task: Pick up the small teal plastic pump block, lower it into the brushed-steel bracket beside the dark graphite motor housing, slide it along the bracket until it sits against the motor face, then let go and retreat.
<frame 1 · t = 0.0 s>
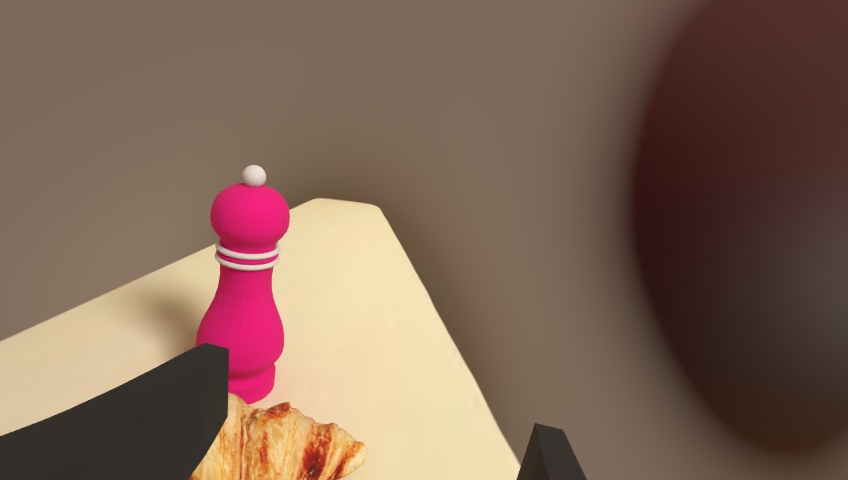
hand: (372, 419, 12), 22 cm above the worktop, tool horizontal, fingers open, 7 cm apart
pepper mill: (237, 386, 47), on the worktop
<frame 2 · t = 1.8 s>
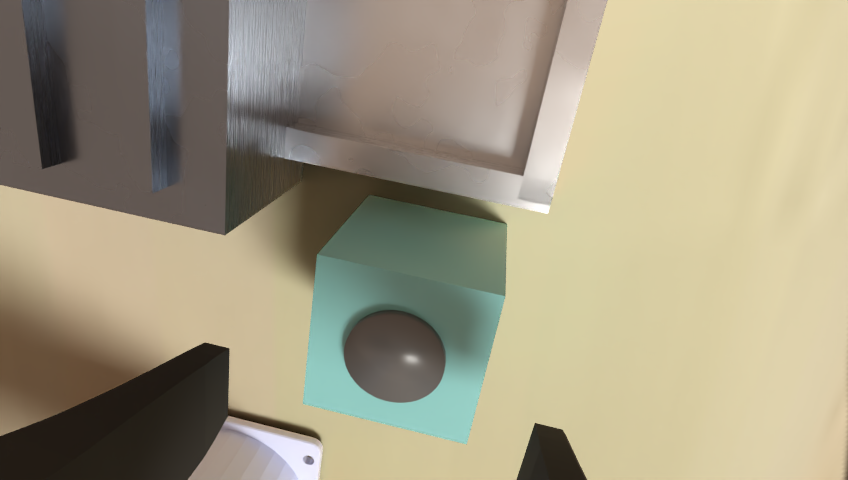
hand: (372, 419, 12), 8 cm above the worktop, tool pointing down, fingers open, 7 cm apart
pump: (425, 270, 19), on the worktop
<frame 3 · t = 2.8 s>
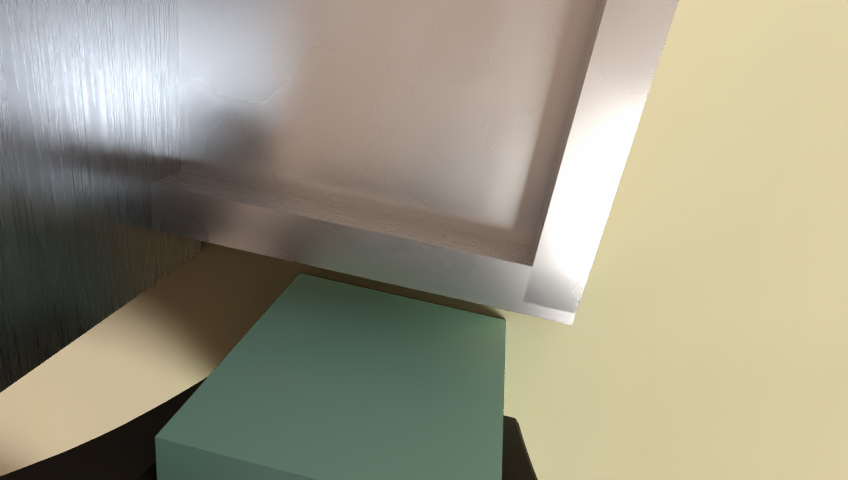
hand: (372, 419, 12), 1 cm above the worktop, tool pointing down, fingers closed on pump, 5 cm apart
pump: (386, 380, 13), on the worktop, touching gripper
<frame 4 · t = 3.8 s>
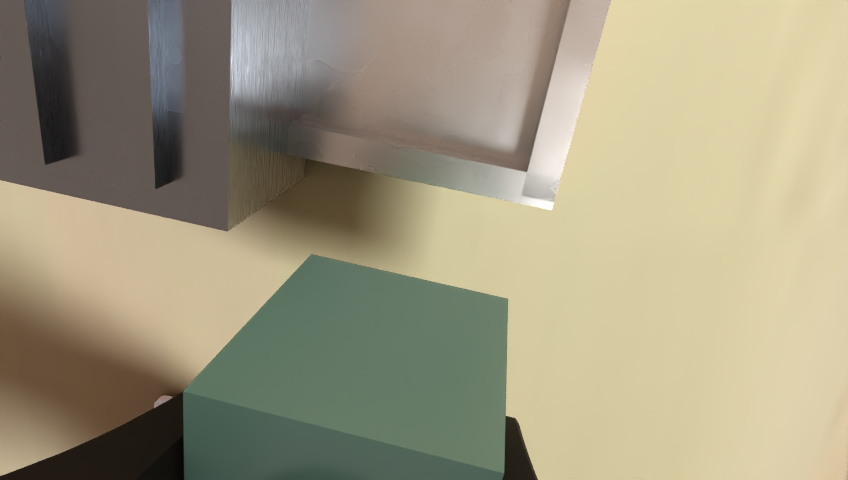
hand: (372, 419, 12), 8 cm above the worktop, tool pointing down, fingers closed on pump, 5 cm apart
pump: (393, 359, 14), point 6 cm above the worktop, touching gripper
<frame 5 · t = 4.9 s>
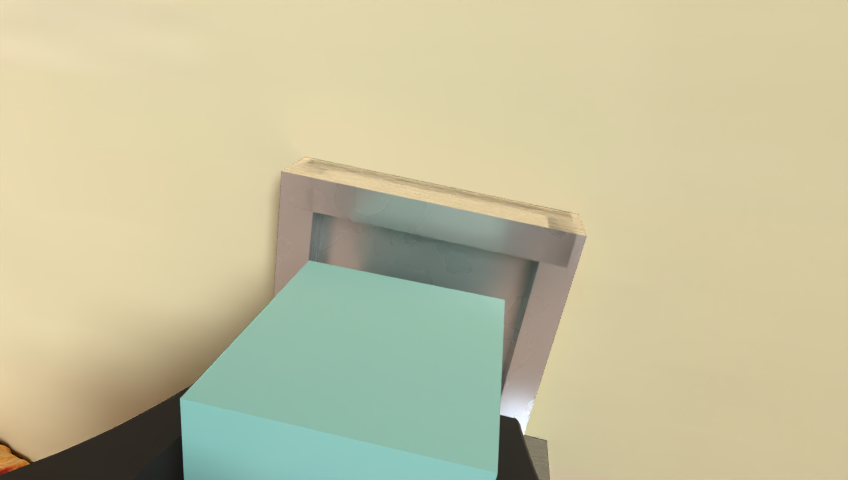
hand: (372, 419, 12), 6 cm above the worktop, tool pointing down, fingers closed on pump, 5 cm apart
motor: (385, 473, 20), on the worktop
pump: (393, 362, 14), point 4 cm above the worktop, touching gripper
when the fingers open (3 cm above the worktop, at t = 6.4 s): pump stays where it is, resting on motor.
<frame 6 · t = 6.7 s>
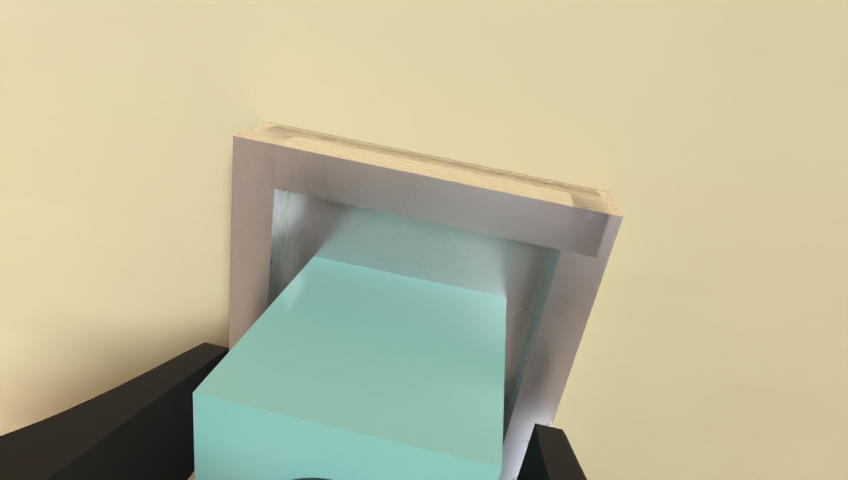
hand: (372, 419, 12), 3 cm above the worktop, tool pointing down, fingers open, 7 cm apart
pump: (395, 357, 14), point 1 cm above the worktop, touching motor
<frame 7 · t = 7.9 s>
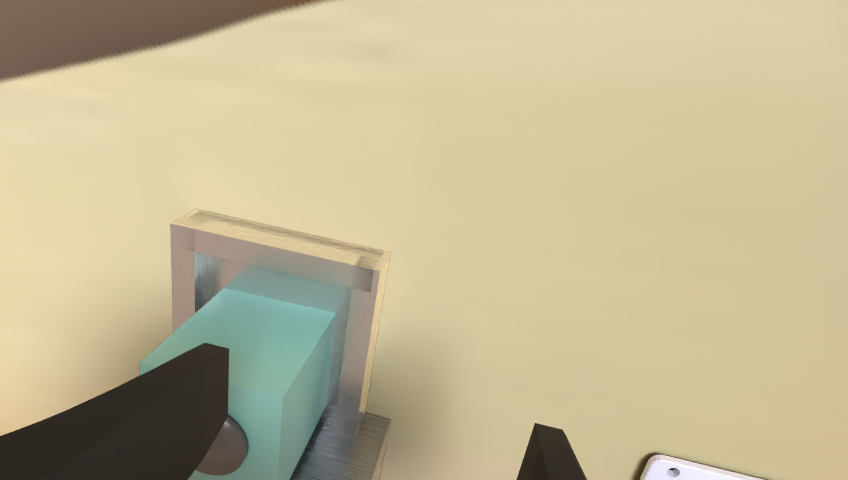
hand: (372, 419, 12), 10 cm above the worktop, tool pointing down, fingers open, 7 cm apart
motor: (275, 446, 26), on the worktop
pump: (276, 348, 23), point 1 cm above the worktop, touching motor
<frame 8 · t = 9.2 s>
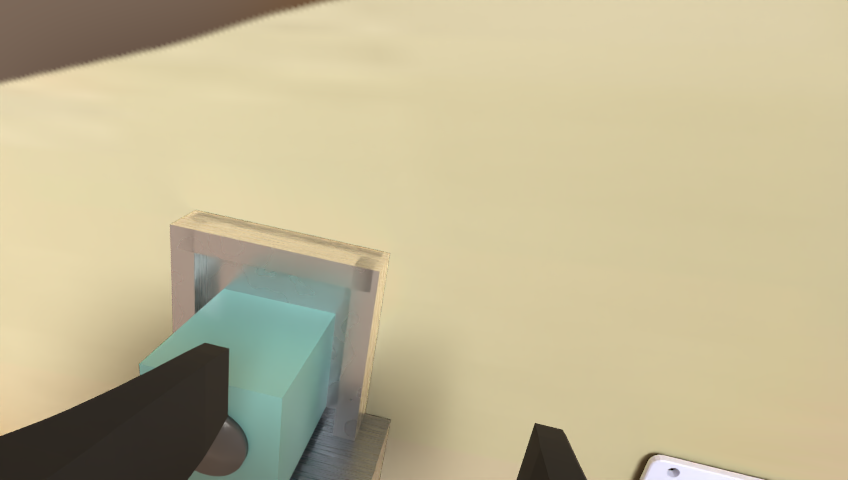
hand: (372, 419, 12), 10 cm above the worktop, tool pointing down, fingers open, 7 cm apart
motor: (275, 446, 26), on the worktop
pump: (276, 349, 23), point 1 cm above the worktop, touching motor
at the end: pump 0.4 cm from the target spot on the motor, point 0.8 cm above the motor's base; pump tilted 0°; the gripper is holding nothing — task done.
